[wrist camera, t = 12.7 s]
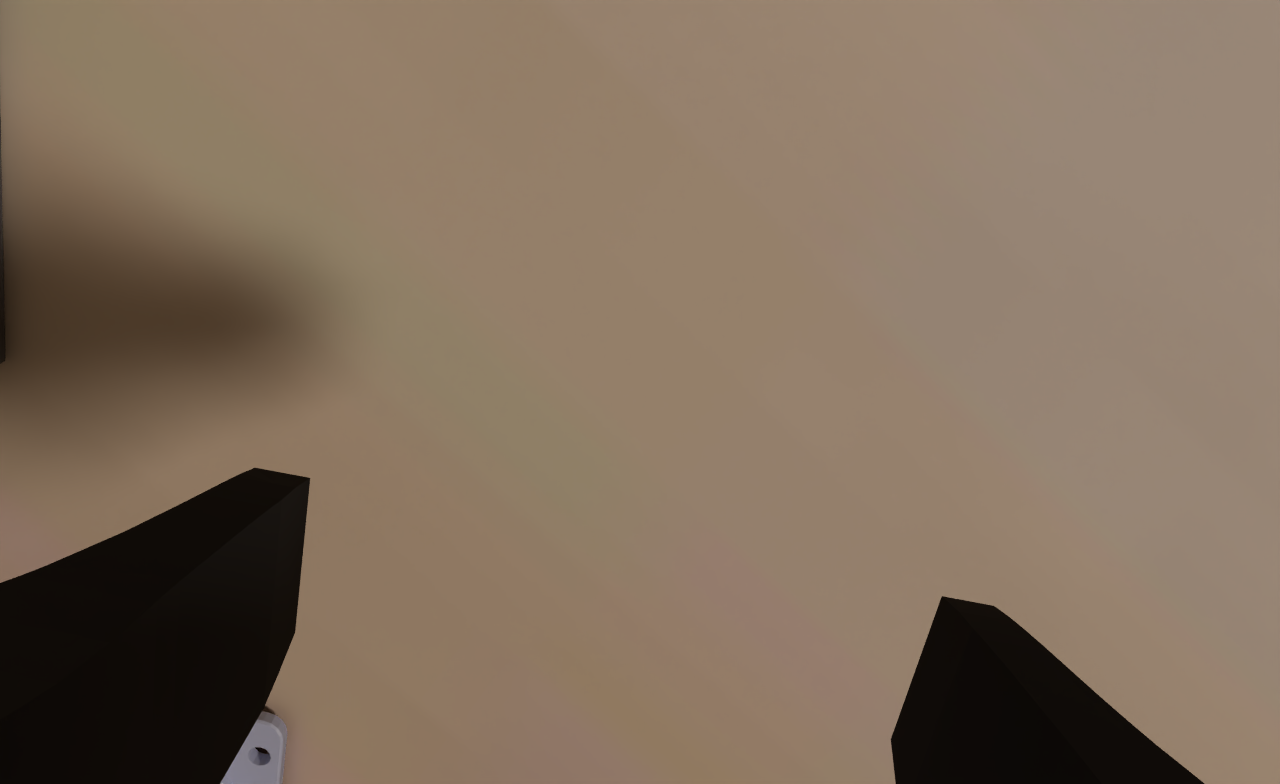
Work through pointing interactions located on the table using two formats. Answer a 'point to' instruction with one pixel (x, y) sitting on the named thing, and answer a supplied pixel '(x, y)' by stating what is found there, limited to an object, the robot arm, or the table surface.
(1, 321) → the shelf
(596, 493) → the table surface
